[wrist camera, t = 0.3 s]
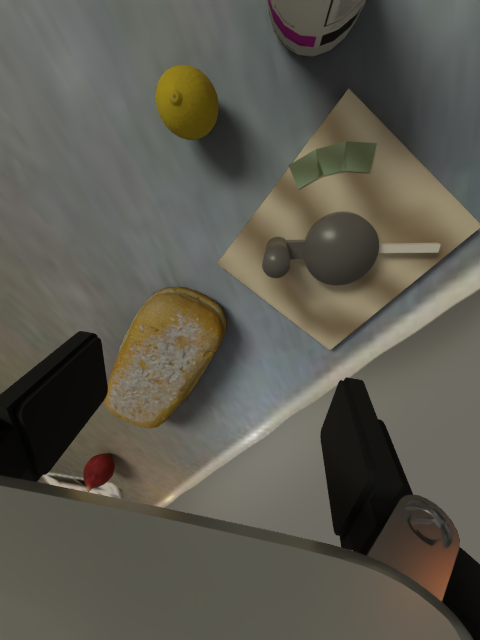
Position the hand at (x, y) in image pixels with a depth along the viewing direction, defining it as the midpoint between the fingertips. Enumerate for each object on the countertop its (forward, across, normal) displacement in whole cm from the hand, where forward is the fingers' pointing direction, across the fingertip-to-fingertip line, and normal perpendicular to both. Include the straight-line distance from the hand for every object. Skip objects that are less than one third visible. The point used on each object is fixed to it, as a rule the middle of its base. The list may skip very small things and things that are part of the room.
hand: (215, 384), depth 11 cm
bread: (+29, +12, +21) cm, 38 cm away
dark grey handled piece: (+26, -10, 0) cm, 28 cm away
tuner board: (+28, -9, 0) cm, 29 cm away
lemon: (+28, +8, -12) cm, 32 cm away
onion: (+29, +26, +52) cm, 65 cm away
